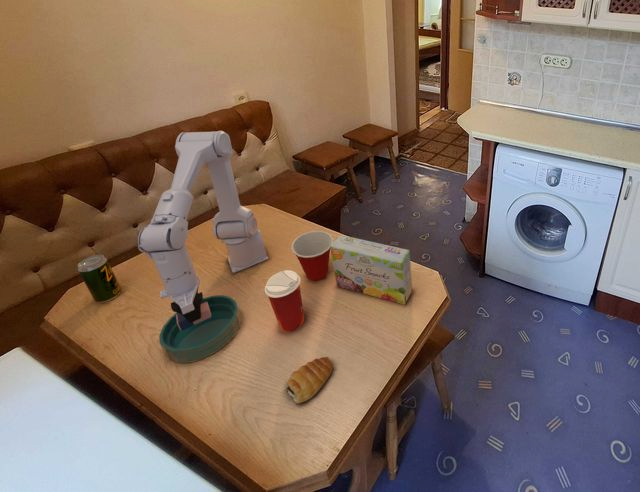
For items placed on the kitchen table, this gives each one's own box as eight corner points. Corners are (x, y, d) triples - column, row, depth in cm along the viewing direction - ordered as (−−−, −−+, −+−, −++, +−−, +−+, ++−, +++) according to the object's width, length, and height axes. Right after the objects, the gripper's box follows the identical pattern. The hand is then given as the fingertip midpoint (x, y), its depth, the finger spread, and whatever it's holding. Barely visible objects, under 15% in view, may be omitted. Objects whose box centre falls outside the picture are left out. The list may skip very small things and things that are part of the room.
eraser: (209, 308, 87) (206, 301, 86) (211, 317, 85) (208, 309, 84) (179, 322, 83) (175, 314, 82) (180, 331, 81) (177, 323, 80)
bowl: (234, 298, 96) (230, 286, 94) (247, 337, 86) (243, 324, 84) (163, 330, 87) (157, 317, 85) (168, 378, 76) (161, 364, 75)
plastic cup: (320, 293, 98) (313, 259, 93) (289, 282, 102) (282, 249, 97) (345, 267, 108) (340, 235, 103) (316, 257, 111) (310, 226, 106)
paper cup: (315, 314, 92) (306, 273, 86) (293, 340, 85) (282, 297, 80) (291, 306, 94) (281, 265, 89) (267, 330, 87) (255, 287, 82)
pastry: (321, 355, 82) (319, 344, 80) (340, 372, 78) (338, 361, 77) (282, 390, 75) (279, 378, 73) (301, 410, 71) (298, 398, 70)
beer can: (92, 307, 92) (73, 271, 88) (97, 293, 97) (79, 258, 92) (120, 298, 95) (103, 263, 90) (123, 285, 99) (107, 251, 95)
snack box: (335, 288, 100) (328, 245, 94) (346, 274, 105) (340, 233, 99) (404, 306, 95) (402, 262, 89) (413, 290, 100) (411, 248, 94)
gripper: (151, 260, 80) (170, 303, 86) (154, 300, 70) (175, 346, 76) (189, 246, 85) (205, 289, 90) (198, 282, 75) (215, 328, 80)
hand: (194, 314), depth 83 cm, fingers closed on eraser, 3 cm apart
